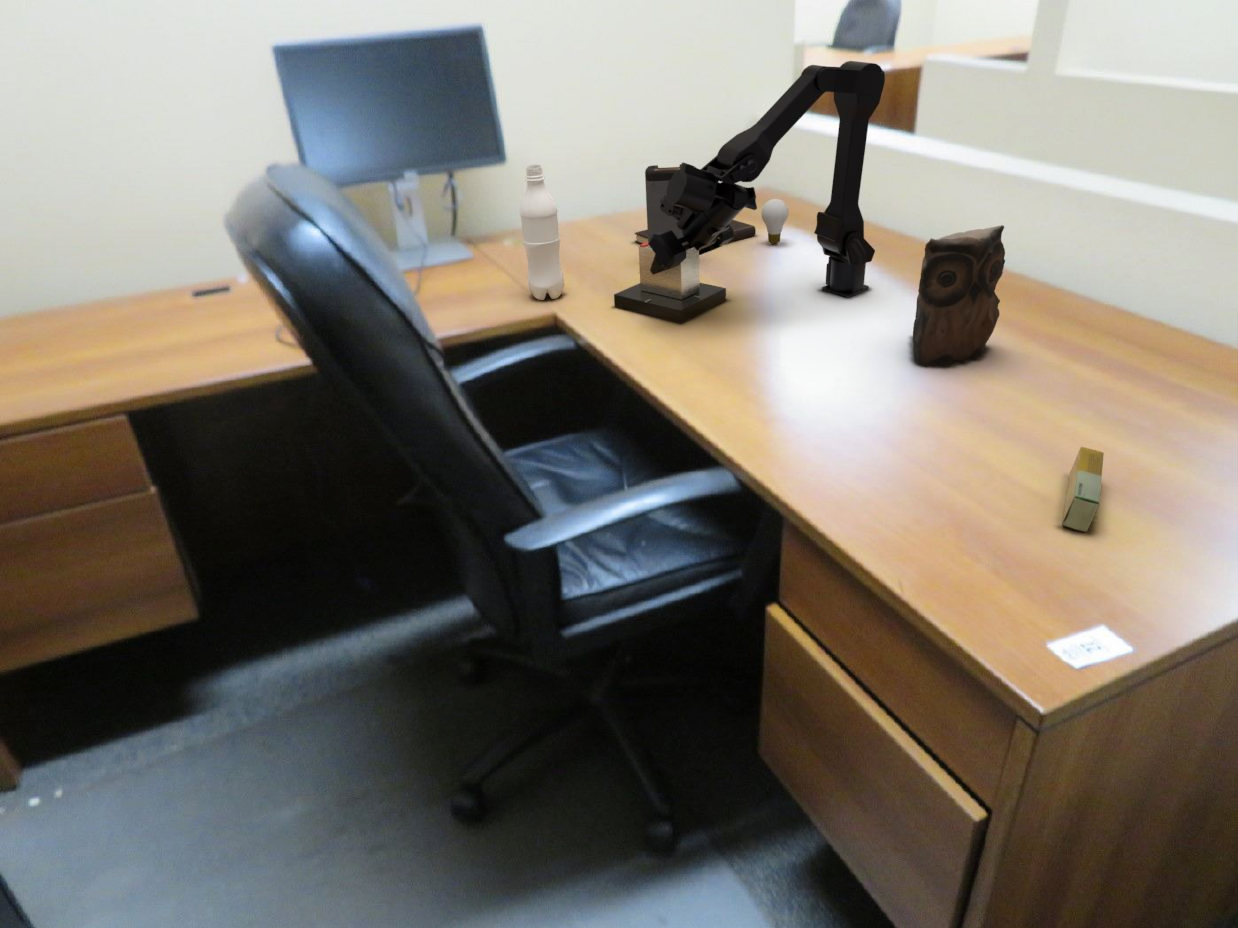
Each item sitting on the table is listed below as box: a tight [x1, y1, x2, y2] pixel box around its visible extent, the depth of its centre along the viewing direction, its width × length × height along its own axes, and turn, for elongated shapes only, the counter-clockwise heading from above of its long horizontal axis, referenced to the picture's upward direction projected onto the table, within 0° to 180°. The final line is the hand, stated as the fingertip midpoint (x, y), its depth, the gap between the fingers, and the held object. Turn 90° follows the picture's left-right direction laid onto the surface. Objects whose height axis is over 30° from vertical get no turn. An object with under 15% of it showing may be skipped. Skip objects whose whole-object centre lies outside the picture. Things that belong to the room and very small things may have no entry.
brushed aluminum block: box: [638, 242, 700, 300], centre depth 159 cm, size 10×5×9 cm, turn 48°
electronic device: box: [644, 163, 684, 240], centre depth 179 cm, size 9×6×20 cm, turn 84°
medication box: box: [1061, 446, 1105, 533], centre depth 97 cm, size 12×3×4 cm, turn 153°
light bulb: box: [760, 198, 790, 246], centre depth 188 cm, size 6×6×10 cm
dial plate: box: [613, 282, 727, 325], centre depth 162 cm, size 16×14×3 cm
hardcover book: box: [634, 219, 757, 245], centre depth 198 cm, size 16×23×2 cm
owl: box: [912, 224, 1006, 368], centre depth 130 cm, size 13×13×20 cm
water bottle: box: [519, 164, 565, 301], centre depth 164 cm, size 7×7×25 cm
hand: (667, 265), depth 159 cm, fingers open, 9 cm apart
